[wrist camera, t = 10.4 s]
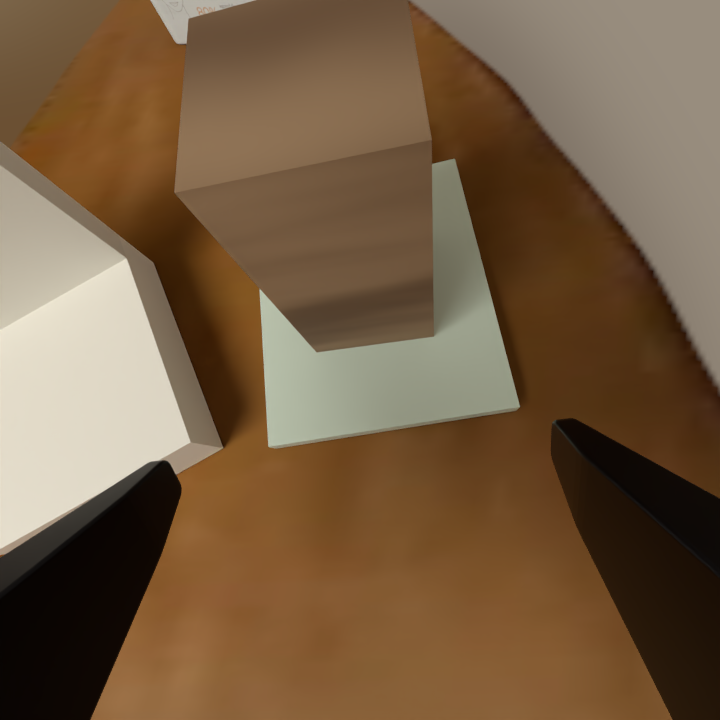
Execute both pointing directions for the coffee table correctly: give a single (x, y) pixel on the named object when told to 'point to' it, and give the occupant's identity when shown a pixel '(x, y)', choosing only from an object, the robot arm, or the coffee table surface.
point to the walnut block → (315, 162)
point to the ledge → (82, 360)
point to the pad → (397, 352)
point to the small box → (188, 13)
